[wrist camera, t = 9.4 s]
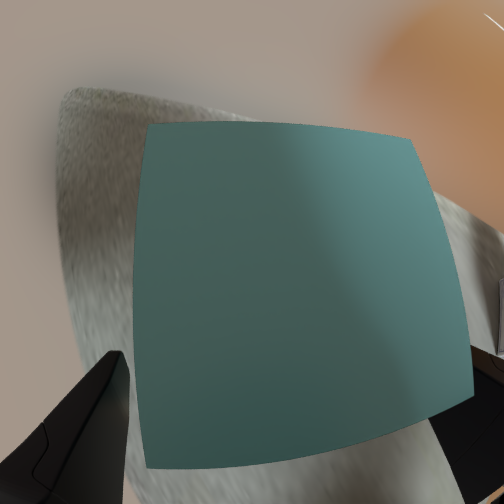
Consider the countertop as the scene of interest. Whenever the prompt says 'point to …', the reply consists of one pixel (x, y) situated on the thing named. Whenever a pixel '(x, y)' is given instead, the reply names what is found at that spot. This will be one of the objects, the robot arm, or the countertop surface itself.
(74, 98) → the countertop surface
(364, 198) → the teal tall cube
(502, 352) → the medicine box
